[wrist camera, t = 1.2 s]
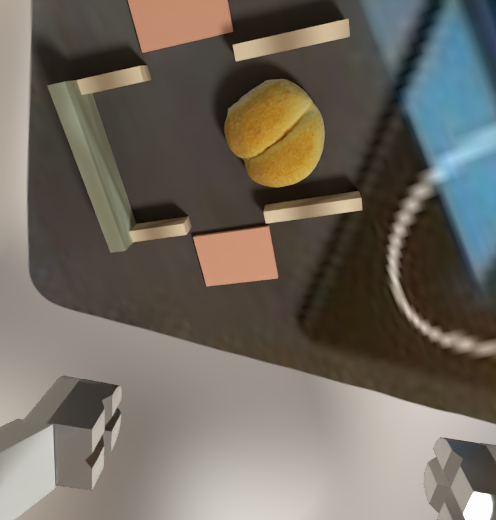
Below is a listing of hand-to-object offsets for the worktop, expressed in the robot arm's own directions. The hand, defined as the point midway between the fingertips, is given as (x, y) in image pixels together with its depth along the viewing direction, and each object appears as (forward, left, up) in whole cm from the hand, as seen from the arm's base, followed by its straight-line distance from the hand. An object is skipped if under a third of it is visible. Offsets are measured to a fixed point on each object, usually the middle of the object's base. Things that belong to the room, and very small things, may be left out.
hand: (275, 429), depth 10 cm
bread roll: (+1, -2, -31) cm, 31 cm away
